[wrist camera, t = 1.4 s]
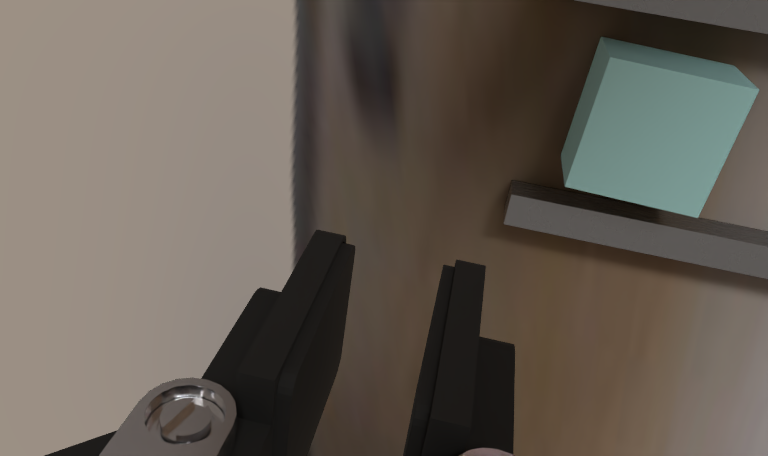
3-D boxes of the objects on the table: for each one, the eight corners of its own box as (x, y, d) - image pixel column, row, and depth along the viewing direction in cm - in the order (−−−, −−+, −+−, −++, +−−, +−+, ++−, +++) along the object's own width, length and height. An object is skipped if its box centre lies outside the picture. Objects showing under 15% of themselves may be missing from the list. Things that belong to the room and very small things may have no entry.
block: (600, 35, 35) (610, 57, 31) (732, 64, 35) (759, 89, 31) (560, 154, 39) (564, 186, 35) (680, 181, 38) (697, 218, 34)
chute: (571, -50, 33) (577, -40, 30) (1037, 28, 31) (1100, 49, 28) (504, 208, 41) (502, 240, 37) (875, 284, 39) (909, 326, 35)
